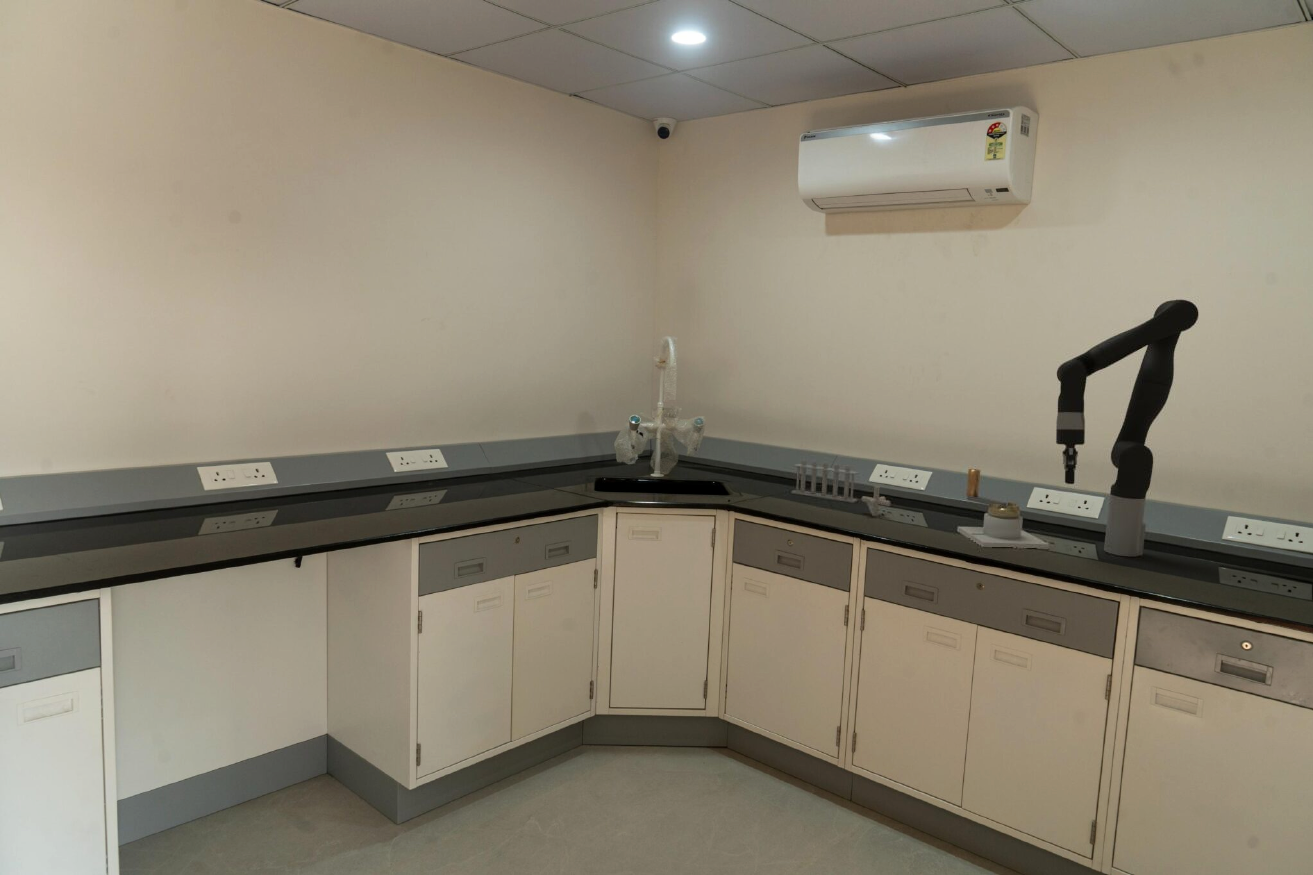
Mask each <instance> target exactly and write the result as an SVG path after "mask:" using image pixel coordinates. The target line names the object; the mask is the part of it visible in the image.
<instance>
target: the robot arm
mask: <svg viewBox="0 0 1313 875" xmlns="http://www.w3.org/2000/svg"><path fill="white" fill-rule="evenodd" d="M1199 313H1200V312H1199V309H1198V307H1197V306H1196V304H1194V303H1193V302H1192V301H1190V300H1186V299H1173V300H1172V299H1171V300H1166V301H1165V302H1162V303H1161V304H1160V305H1159V306H1158V307H1157V308H1156V310H1155V311H1154V314H1153V317H1151V318H1150V319H1148V320H1147V321H1145V322H1143V323H1141V324H1139V325H1137V326H1134V327H1132V328H1130V329H1127V330H1125V331H1123V332H1120V333H1118V334H1116V335H1114V336H1111V337H1109V338H1107V339H1106V340H1103V341H1101V342H1099V343H1098V344H1096V345H1094V346H1092V347H1090V349H1088V350H1086V352H1084V353H1082V354H1080V355H1077V356H1076V357H1073V358H1072V359H1069V360H1067V361H1065V362H1062V364H1061V365H1059V366H1058V368H1057V371H1056V378H1057V379H1058V381H1059V382H1060V389H1059V390H1060V392H1059V395H1058V398H1057V415H1056V416H1057V417H1056V422H1055V424H1056V430H1055V431H1056V432H1055V434H1056V436H1055V438H1056V439H1055V440H1056V441H1055V443H1056V445H1062V446H1063V445H1064V446H1065V448H1064V450H1062V461H1063V462H1062V464H1063V467H1064V468H1063V469H1064V483H1065V484H1067V485H1074V484H1075V481H1076V480H1075V476H1076V475H1075V473H1076V470H1077V465H1078V456H1079V451H1078V450H1077V449H1076V446H1077V445H1079V446H1081V445H1084V444H1085V442H1086V440H1085V438H1086V436H1085V435H1086V434H1085V432H1086V420H1085V391H1086V387H1087V386H1086V384H1087V378H1088V377H1090V376H1092V375H1093V374H1094V373H1097V372H1098V371H1102V370H1104V369H1106V368H1108V367H1110V366H1112V365H1114V364H1115V363H1117V362H1120V361H1121V360H1123V359H1125V358H1126V357H1128V356H1129V357H1130V355H1132V354H1134V353H1136V352H1138V351H1140V350H1141V349H1143V348H1145V347H1146V348H1145V349H1146V350H1145V352H1144V355H1143V357H1142V359H1141V360H1142V361H1141V364H1140V368H1139V370H1138V373H1137V374H1136V379H1135V381H1134V385H1133V388H1132V392H1131V395H1130V399H1129V402H1128V405H1127V409H1126V413H1125V416H1124V418H1123V422H1122V426H1121V427H1120V431H1119V433H1118V435H1117V437H1116V440H1114V441H1115V442H1114V443H1113V447H1112V448H1111V452H1110V460H1111V463H1112V466H1114V467H1115V468H1116V469H1117V474H1116V479H1115V481H1114V483H1112V485H1111V486H1110V491H1109V492H1110V493H1109V499H1108V500H1109V502H1108V511H1107V518H1106V520H1107V521H1106V527H1105V528H1106V529H1105V536H1104V537H1105V539H1104V547H1103V551H1104V552H1106V553H1108V554H1111V555H1114V556H1115V555H1116V556H1119V557H1120V556H1122V557H1138V556H1141V557H1142V556H1143V553H1144V544H1145V535H1146V529H1147V528H1146V527H1147V525H1146V523H1144V516H1145V506H1146V498H1147V492H1148V491H1149V489H1150V486H1151V480H1152V475H1153V468H1154V455H1153V452H1152V450H1151V449H1150V448H1149V447H1148V446H1147V445H1146V441H1147V436H1148V433H1149V430H1150V427H1151V426H1152V424H1153V423H1154V421H1155V420H1156V419H1157V417H1158V416H1159V414H1160V413H1161V411H1162V410H1163V409H1164V407H1165V405H1166V403H1167V401H1168V398H1169V396H1170V393H1171V389H1172V386H1173V383H1174V382H1173V381H1174V374H1175V362H1174V361H1175V350H1176V347H1177V344H1178V341H1179V338H1180V336H1181V334H1182V332H1186V331H1188V330H1190V329H1191V328H1192V327H1193V326H1194V325H1196V323H1197V321H1198V319H1199Z"/></svg>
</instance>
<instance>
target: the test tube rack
mask: <svg viewBox="0 0 1313 875" xmlns="http://www.w3.org/2000/svg"><path fill="white" fill-rule="evenodd" d="M807 462H808V461H807V459H802V461H801V463H796V464H793V465H792V466H793V467H797V468H796V469H797V471H796V472H797V474H796V488H795V490H791V492H790V493H791V494H795V495H801V496H807V497H814V498H820V499H827V500H833V501H840V502H845V503H846V502H847V503H850V504H851V503H853V504H854V503H856V502H858V498H854V496H853V495H854V484H855V483H854V482H855V476H856V475H857V474H859V473H860V472H859V471H854V470H851V465H848V464H846V465H845V469H840V464H838V463H834V468H832V467H829V463H828V462H823V466H818V461H817V460H812V465H809V464H807ZM807 469H811V484H810V491H807V490H806V480H807V479H806V478H807ZM800 470H801V473H800ZM817 470H820V471H822V478H821V479H822V480H821V481H822V482H821V483H822V484H821V493H820V492H816V489H817V472H818V471H817ZM828 472H833V479H832V480H833V482H832V495H831V494H827V491H828V490H827V487H828V474H829V473H828ZM840 473H841V474H844V486H843V496H840V495H838V489H839V488H838V486H839V474H840ZM800 474H801V475H800ZM850 475H851V476H850ZM850 478H851V484H850ZM799 483H800V484H799ZM850 485H851V486H850ZM799 488H800V489H799ZM849 492H850V497H849Z"/></svg>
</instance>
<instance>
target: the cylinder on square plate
mask: <svg viewBox="0 0 1313 875" xmlns="http://www.w3.org/2000/svg"><path fill="white" fill-rule="evenodd" d="M1023 519H1024V517H1022V516H1021V515H1020V516H1019V518H1013V519H1011V518H1000V517H994V516H991V515H989V514H988V512H985V513H984V516H983V526H981V527H980V526H957V529H956V530H957V532H958V533H959V534H961V535H962V536H964V537H965V538H967V539H969V538H970V539H969V540H971V541H972V540H973V541H972V542H974V543H975V542H976V543H975V544H977V545H978V544H979V546H980V545H981V546H980V547H982V548H992V547H1013V548H1012V549H1026V548H1037V549H1036V550H1049V548H1050V544H1049V543H1048V542H1046V541H1044V540H1042V539H1040V538H1039V537H1036V536H1035V535H1032V534H1030V533H1028V532H1026V531H1025V530H1023V522H1024V521H1023ZM1016 547H1017V548H1016Z"/></svg>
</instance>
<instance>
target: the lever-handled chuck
mask: <svg viewBox="0 0 1313 875" xmlns="http://www.w3.org/2000/svg"><path fill="white" fill-rule="evenodd" d="M967 472H968V474H967V482H966V483H967V484H966V496H967V497H966V500H967V501H971V502H975V503H979V504H985V505H988V511H987V513H988V514H989V515H991V516H994V517H1000V518H1011V519H1013V518H1019V516H1021V515H1020V514H1021V508H1020V506H1019V505H1017V503H1016V502H1012V501H1010V502H1009V501H1008V502H1003V501H1000V500H996V499H991V498H987V497H981V496H979V490H980V488H979V487H980V481H981V480H980V476H981V469H976V468H968V471H967Z"/></svg>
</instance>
